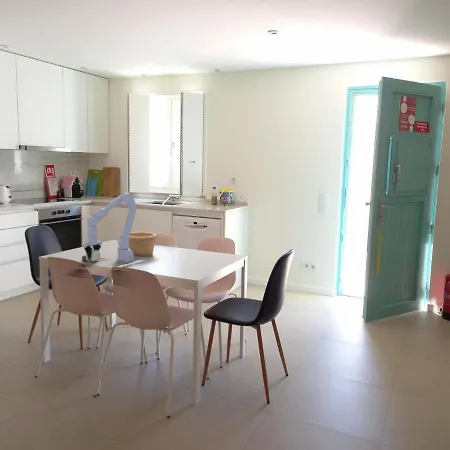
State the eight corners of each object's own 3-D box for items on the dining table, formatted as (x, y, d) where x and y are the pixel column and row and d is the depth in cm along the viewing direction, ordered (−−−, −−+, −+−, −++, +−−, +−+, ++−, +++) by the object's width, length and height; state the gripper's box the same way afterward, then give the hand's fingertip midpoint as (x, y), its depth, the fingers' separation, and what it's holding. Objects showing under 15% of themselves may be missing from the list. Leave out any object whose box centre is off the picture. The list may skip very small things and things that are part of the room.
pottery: (133, 260, 295) (134, 238, 293) (118, 253, 312) (118, 233, 309) (162, 256, 309) (162, 235, 306) (146, 250, 325) (146, 230, 323)
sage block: (98, 259, 283) (98, 250, 282) (93, 261, 278) (93, 251, 277) (91, 258, 285) (91, 249, 284) (85, 260, 281) (85, 250, 280)
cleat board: (110, 261, 288) (110, 254, 288) (94, 265, 276) (93, 258, 276) (98, 259, 293) (98, 252, 292) (82, 263, 281) (81, 256, 280)
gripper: (96, 233, 288) (96, 254, 290) (78, 236, 275) (79, 258, 277) (104, 234, 284) (104, 255, 286) (87, 237, 272) (87, 259, 274)
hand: (92, 257), depth 281 cm, fingers closed on sage block, 5 cm apart
